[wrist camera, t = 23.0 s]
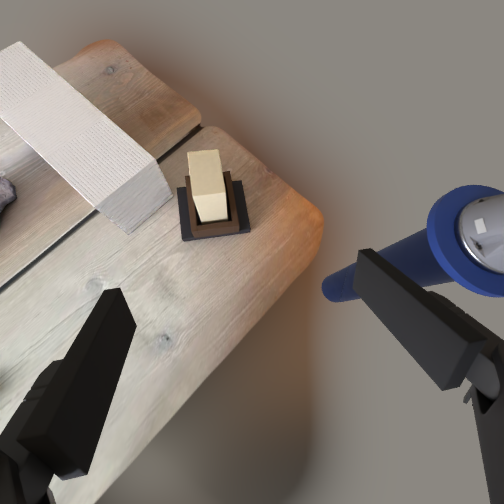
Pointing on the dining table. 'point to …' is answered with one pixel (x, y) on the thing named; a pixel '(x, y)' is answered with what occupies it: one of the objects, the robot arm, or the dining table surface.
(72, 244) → the dining table surface
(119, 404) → the dining table surface
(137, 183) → the stack of papers
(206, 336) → the dining table surface
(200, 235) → the square socket base
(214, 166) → the cream rectangular block
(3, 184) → the geode
